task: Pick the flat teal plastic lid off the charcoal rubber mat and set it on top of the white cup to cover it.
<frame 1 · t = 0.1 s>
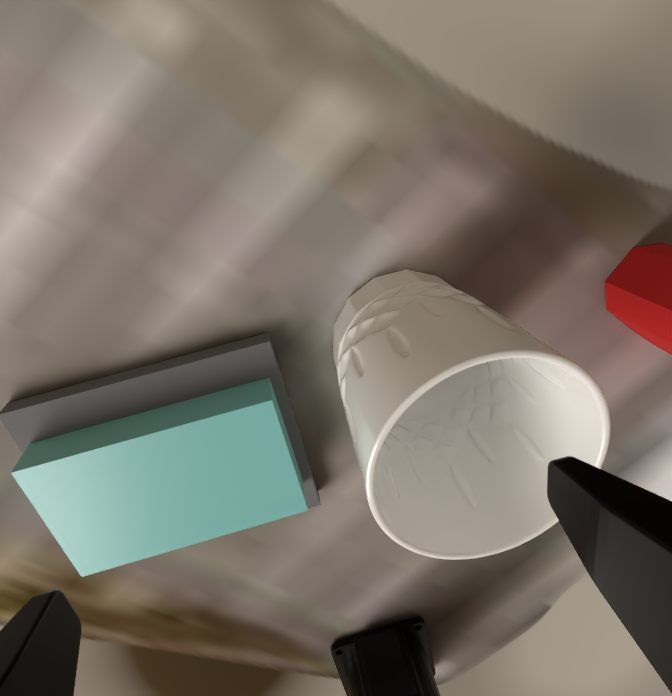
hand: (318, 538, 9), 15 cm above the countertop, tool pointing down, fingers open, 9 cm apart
french fries: (659, 297, 26), on the countertop
mat: (179, 452, 25), on the countertop
white cup: (398, 334, 24), on the countertop
lid: (176, 464, 24), point 1 cm above the countertop, touching mat
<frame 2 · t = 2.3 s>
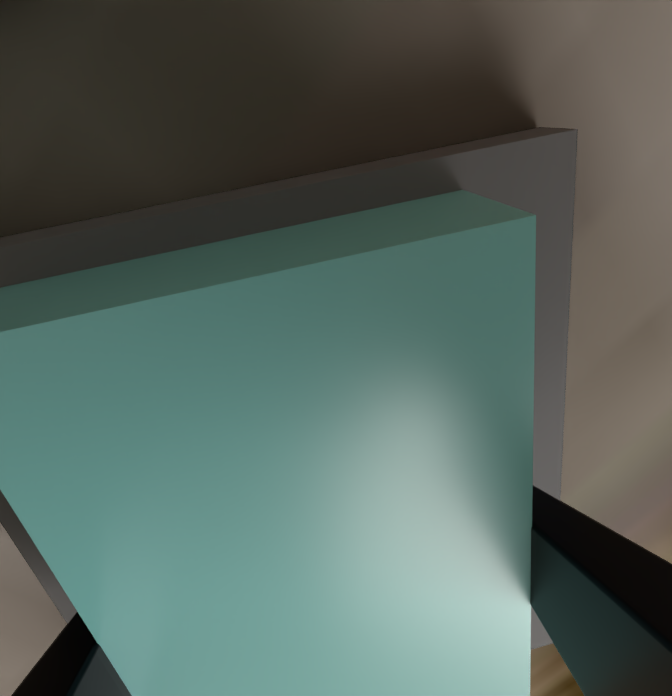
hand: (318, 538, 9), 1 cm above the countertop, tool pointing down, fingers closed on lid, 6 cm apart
mat: (308, 485, 10), on the countertop
lid: (314, 521, 9), point 1 cm above the countertop, touching gripper, mat
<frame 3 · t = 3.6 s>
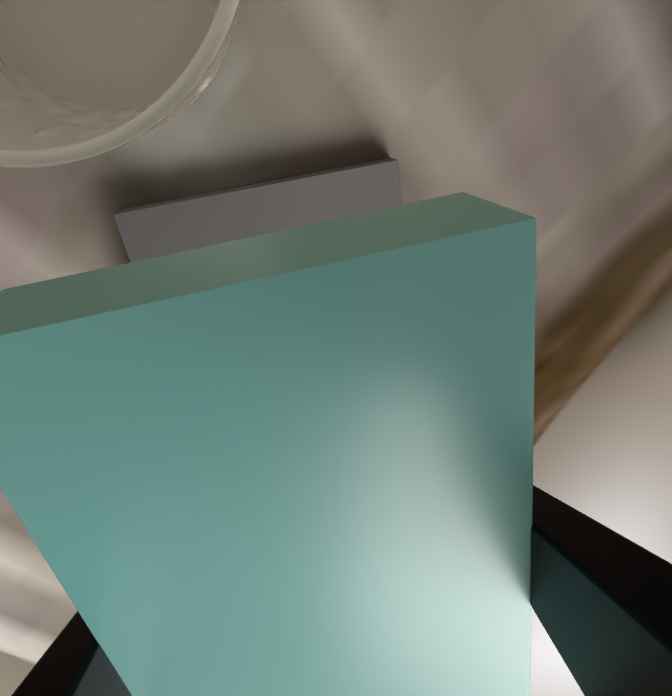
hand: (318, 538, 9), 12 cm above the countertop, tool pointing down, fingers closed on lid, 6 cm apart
mat: (290, 330, 21), on the countertop
white cup: (118, 0, 15), on the countertop
lid: (315, 522, 9), point 12 cm above the countertop, touching gripper
when the fingers open (11 cm above the countertop, at t = 5.0 s): lid stays where it is, resting on white cup.
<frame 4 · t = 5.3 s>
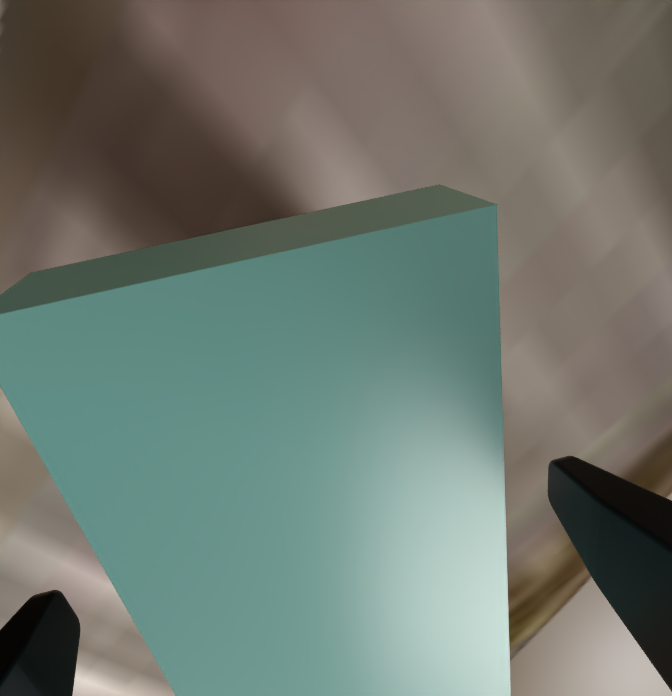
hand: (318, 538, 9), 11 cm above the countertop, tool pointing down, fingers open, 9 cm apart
lid: (310, 490, 10), point 10 cm above the countertop, touching white cup
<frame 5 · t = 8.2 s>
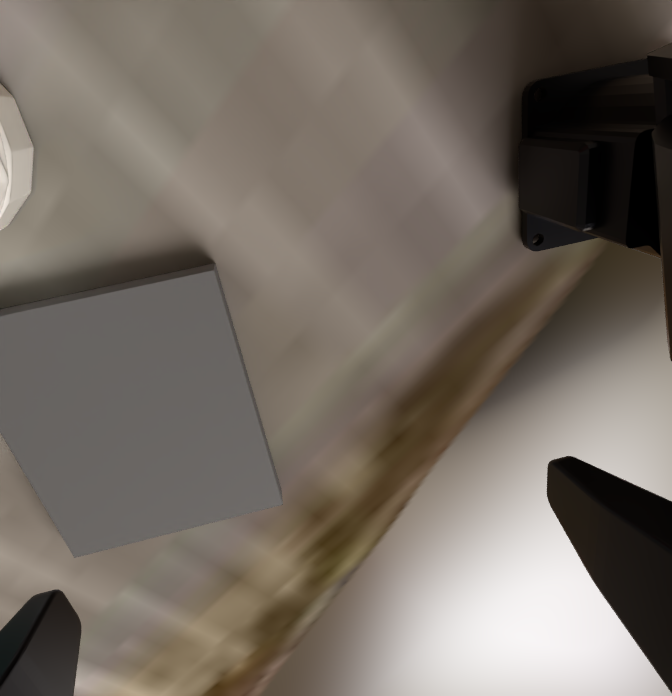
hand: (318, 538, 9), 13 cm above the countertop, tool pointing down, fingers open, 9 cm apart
mat: (140, 416, 22), on the countertop
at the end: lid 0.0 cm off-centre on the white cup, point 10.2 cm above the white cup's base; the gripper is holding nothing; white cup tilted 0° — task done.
